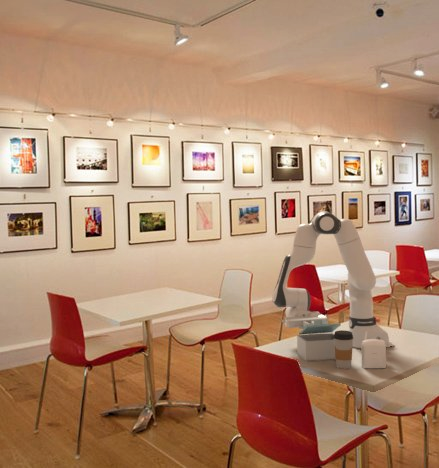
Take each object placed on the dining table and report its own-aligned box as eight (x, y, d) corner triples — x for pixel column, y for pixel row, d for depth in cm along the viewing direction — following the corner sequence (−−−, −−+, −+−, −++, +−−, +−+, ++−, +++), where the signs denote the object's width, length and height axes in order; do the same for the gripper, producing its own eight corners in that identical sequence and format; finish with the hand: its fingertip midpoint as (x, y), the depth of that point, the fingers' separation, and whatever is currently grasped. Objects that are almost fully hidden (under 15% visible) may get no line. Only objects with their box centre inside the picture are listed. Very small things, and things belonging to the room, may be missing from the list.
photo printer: (362, 369, 228) (362, 340, 227) (360, 365, 232) (360, 337, 231) (387, 369, 227) (387, 340, 226) (384, 365, 231) (384, 337, 230)
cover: (332, 332, 253) (331, 330, 254) (341, 325, 242) (340, 323, 243) (299, 334, 251) (298, 332, 251) (306, 327, 239) (306, 325, 240)
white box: (333, 351, 254) (333, 332, 254) (343, 358, 242) (343, 339, 242) (297, 353, 251) (297, 335, 251) (305, 361, 239) (305, 341, 239)
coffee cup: (353, 370, 227) (353, 335, 226) (333, 369, 228) (333, 334, 227) (353, 364, 235) (352, 330, 234) (333, 363, 236) (333, 329, 235)
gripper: (280, 313, 256) (289, 320, 242) (321, 311, 259) (332, 317, 245) (281, 326, 256) (289, 333, 242) (321, 324, 259) (332, 331, 246)
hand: (311, 325), depth 244 cm, fingers closed, pressing on cover
